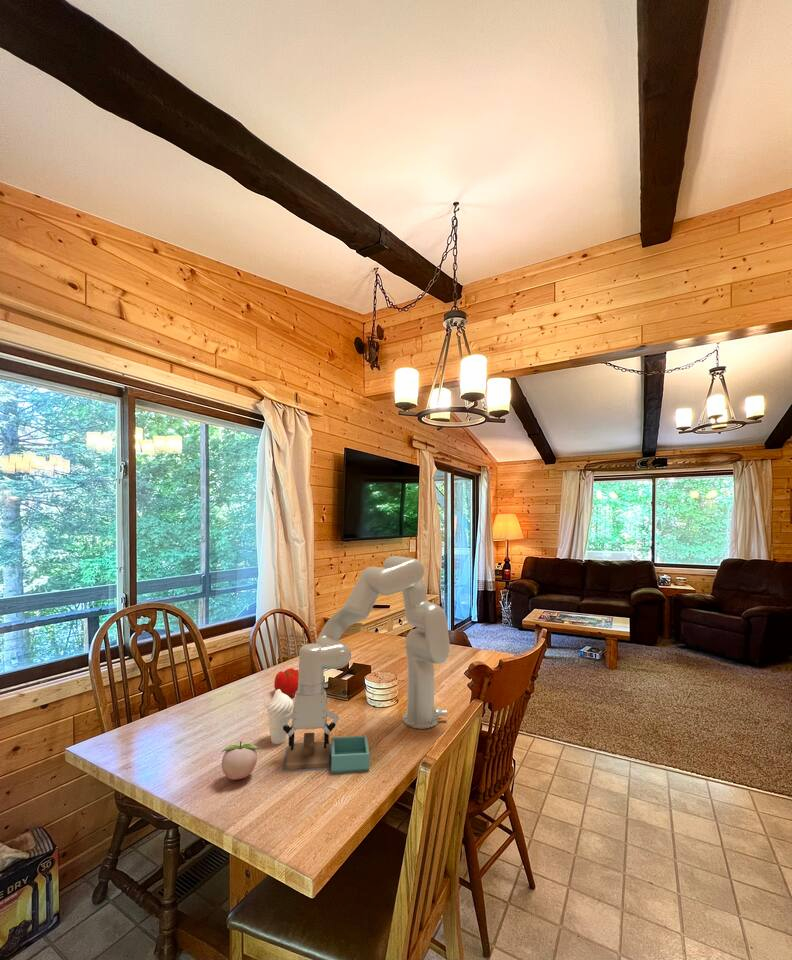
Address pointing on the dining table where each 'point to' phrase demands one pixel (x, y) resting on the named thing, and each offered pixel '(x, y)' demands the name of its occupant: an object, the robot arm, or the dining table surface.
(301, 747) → the lid
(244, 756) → the decorative fruit
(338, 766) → the open box
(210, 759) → the dining table surface
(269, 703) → the soft serve ice cream cone
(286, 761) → the mat
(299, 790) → the dining table surface
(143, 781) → the dining table surface
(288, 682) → the tomato
